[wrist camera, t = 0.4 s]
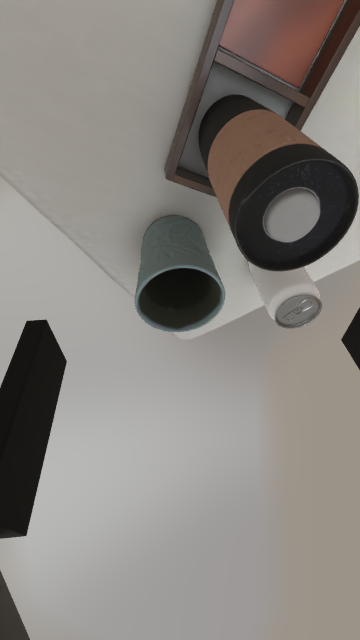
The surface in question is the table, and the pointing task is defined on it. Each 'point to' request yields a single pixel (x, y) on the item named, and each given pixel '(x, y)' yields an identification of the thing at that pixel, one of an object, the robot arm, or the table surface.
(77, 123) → the table surface
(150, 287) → the green tapered cup
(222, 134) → the travel mug
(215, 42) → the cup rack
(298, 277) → the can
